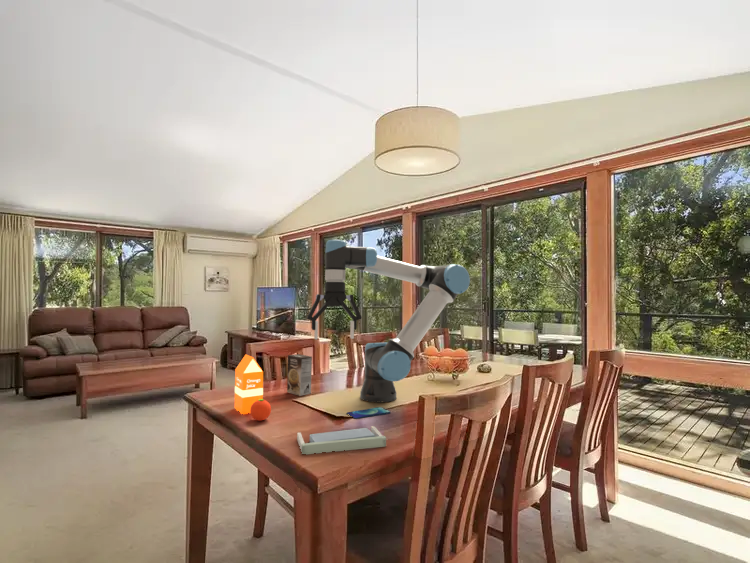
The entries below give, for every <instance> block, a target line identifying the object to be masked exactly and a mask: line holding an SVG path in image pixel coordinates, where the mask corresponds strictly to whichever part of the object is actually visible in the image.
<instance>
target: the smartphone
mask: <svg viewBox="0 0 750 563" xmlns="http://www.w3.org/2000/svg"><path fill="white" fill-rule="evenodd" d="M347 414H349V415H350V416H352V417H353V418H352V417H351V418H352V419H355V420H359V419H363V418H364V419H365V418H370V417H371V418H372V417H377V416H385V415H390V414H391V410H389V409H386V408H385V407H382V406H377V407H371V408H365V409H359V410H358V409H357V410H351V411H347V412H346V415H347ZM349 415H348V416H349ZM350 416H349V417H350Z"/></svg>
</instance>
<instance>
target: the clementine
mask: <svg viewBox="0 0 750 563" xmlns="http://www.w3.org/2000/svg"><path fill="white" fill-rule="evenodd" d="M271 413H272V405H271V404H270V402H268V400H266V399H264V398H263V399H259V400H257V401H256V402H254V403H253V404H252V406H251V410H250V413H249V414H250V416H251V417H252V418H253V419H254V420H255V421H259V422H262V421H265V420H267V418H269V416H270V415H271Z"/></svg>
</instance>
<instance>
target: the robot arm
mask: <svg viewBox="0 0 750 563" xmlns="http://www.w3.org/2000/svg"><path fill="white" fill-rule="evenodd" d="M377 252H378V251H377V249H376V248H375V247H370V246H350V245H347V241H346V240H344V239H343V240H342V239H329V240H327V241H326V243H325V252H324V253H325V270H324V271H325V273H324V277H325V278H324V280H325V282H324V294H320V293H318V294H316V295H315V301H314V303H313V304H312V306H311V308H310V310H309V312H308V314H307V316H306V319H308V320H309V321H311V330H312V331H314V332H313V333H314V337H313V338H314V340H318V337H319V335H318V333H319V332H318V330H319V328H318V327H319V325H318V324H319V322H318V320H317V319H318V318H319V317H320V316H321V315H322V314H323V312H325V311H326V309H327V308H328V307H339V308H340V307H341V308H342V309H343V310H344V311H345V312H346V314H347V315H348V316H349V317H350V318H351V320H350V321H349V323H350V325H349V326H350V330H349V331H350V333H349V336H350V337H349V338H350V339H352V340H353V339H355V330H357V326H358V325H357V322H358V321H359V320H362V315H361V313H360V310H359V308H358V307H357V304H356V302H355V297H354V294H348V295H347V294H346V282H345V281H346V269H349V270H352V269H354V270H358V271H364V272H366V273H372V274H376V275H380V276H383V277H386V278H387V277H389V278H392V279H395V280H396V279H397V280H401V281H404V282H408V283H413V284H415V285H416V286H417V287H419V288H423V289H426V290H429V291H428V293H427V294H426V296H425V297H424V298H423V299H422V301H421V302H420V304H419V305H418V306H417V308H416V309H415V311H414V312H413V314H412V315H411V316H410V318H409V319H408V320H407V322H406V323H405V325H404V326H403V327H402V329H401V330H400V331H399V333H398V334H397V336H396V337H395V338H390V339H388V342H368V343H366V344H365V348H364V380H363V383H362V386H361V388H360V393H359V394H360V395H359V396H360V399H361V400H363V401H366V402H371V403H388V402H393V401H395V400H397V390H396V387H395V383H394V382H399V381H401V380H403V379H405V378H406V377H407V376H408V375H409V373H410V371H411V366H412V365H411V364H412V361H413V360H414V358H415V353H414V351H415V350H416V348H417V347H418V346H419V344H420V342H422V340H423V338H424V337H425V336H426V334H427V332H428V331H429V329H430V328H431V327H432V326H433V324H434V323H435V321H436V320H437V318H438V317H439V315H440V314H441V313H442V311H443V310H444V309H445V307H446V306H447V304H451V303H453V302H454V301H455V299H456V298H457V297H458V295H461V294H463V293H465V292H466V291H467V290H468V288H470V287H469V286H470V283H471V279H470V274H469V271H468V270H467V268H466V267H464V266H463V265H461V264H455V263H451V264H446V265H436V266H433V265H432V266H431V265H427V264H421V265H420V266H419V265H415V264H412V263H408V262H403V261H400V260H396V259H392V258H389V257H384V256H380V255H378V253H377ZM346 299H347V301H349V303H350V305H351V308H352V310H353V312H354V313H353V312H352V311H351V309H350V308H349V307H348V305H346V303H345V301H346ZM322 300H324V301H325V302H324V303H323V304H322V306H321V307H320V308H319V309H318V311H317V312H316V313H315V311H316V309H317V307H318V306H319V303H320V301H322ZM314 313H315V314H314Z"/></svg>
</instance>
